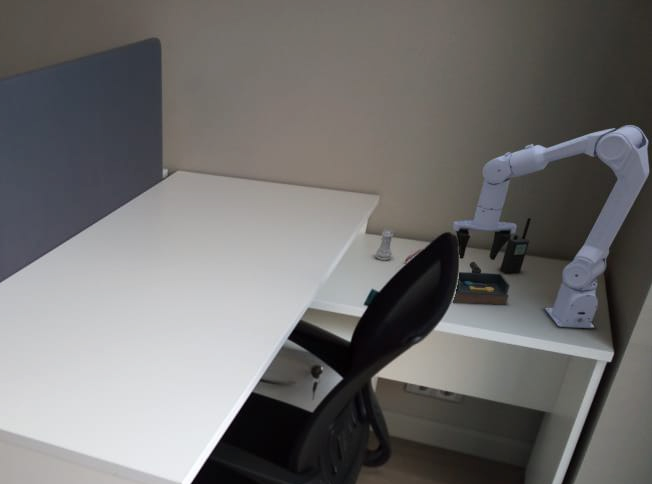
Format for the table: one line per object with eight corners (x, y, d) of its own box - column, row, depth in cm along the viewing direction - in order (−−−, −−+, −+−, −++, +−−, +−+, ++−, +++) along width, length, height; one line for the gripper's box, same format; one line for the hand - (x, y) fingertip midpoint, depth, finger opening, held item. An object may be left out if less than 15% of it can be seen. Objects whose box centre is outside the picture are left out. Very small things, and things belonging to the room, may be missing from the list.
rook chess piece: (372, 255, 210) (377, 228, 206) (387, 254, 211) (392, 228, 206) (378, 261, 207) (383, 234, 202) (393, 260, 207) (399, 233, 203)
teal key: (465, 286, 185) (465, 284, 184) (463, 283, 187) (463, 280, 186) (486, 287, 184) (487, 285, 184) (484, 283, 186) (485, 281, 186)
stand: (505, 304, 182) (508, 295, 181) (451, 302, 184) (454, 293, 183) (496, 291, 189) (499, 283, 187) (444, 289, 190) (447, 280, 189)
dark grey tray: (506, 295, 181) (511, 280, 179) (456, 293, 182) (460, 278, 180) (493, 277, 190) (497, 262, 188) (446, 275, 192) (449, 260, 189)
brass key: (491, 288, 183) (492, 286, 183) (494, 292, 182) (495, 290, 181) (468, 287, 184) (469, 285, 184) (471, 291, 182) (471, 289, 182)
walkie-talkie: (505, 274, 198) (521, 221, 190) (498, 269, 201) (513, 216, 193) (521, 272, 199) (538, 219, 191) (514, 267, 202) (530, 215, 193)
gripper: (515, 202, 182) (501, 253, 189) (455, 200, 184) (443, 250, 191) (524, 211, 176) (509, 263, 183) (462, 209, 178) (449, 261, 185)
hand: (476, 257), depth 187 cm, fingers open, 7 cm apart
